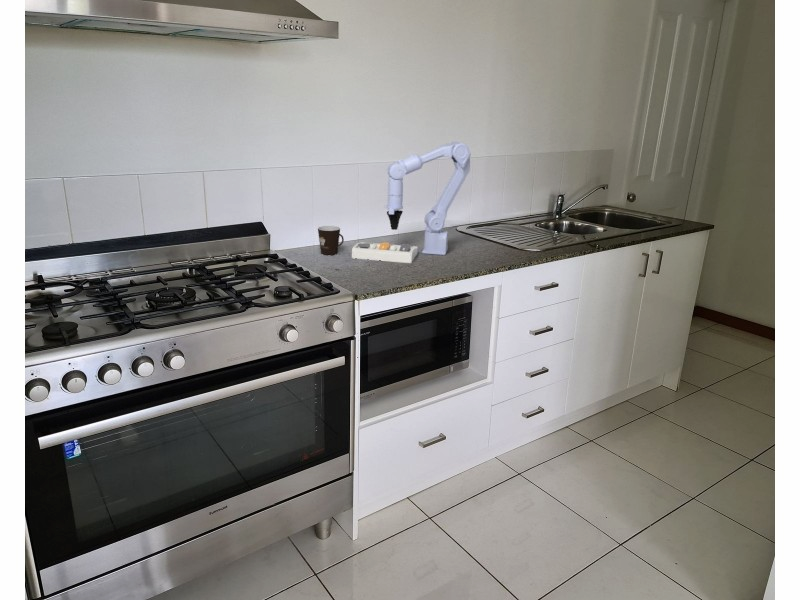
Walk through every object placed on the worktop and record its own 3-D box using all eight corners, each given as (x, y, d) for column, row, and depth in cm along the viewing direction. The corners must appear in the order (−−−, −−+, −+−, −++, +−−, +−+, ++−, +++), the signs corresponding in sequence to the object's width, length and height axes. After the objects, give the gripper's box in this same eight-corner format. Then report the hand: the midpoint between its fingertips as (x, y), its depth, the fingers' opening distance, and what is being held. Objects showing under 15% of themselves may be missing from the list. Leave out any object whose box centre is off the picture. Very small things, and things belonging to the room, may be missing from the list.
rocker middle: (389, 246, 223) (389, 242, 222) (386, 252, 217) (386, 248, 217) (381, 246, 223) (381, 242, 222) (378, 251, 218) (378, 247, 217)
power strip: (417, 253, 228) (417, 244, 227) (411, 263, 215) (411, 252, 214) (361, 249, 232) (361, 239, 231) (351, 258, 219) (351, 248, 218)
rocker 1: (369, 248, 224) (369, 243, 224) (365, 248, 218) (366, 244, 218) (361, 247, 224) (361, 243, 224) (357, 247, 219) (357, 243, 218)
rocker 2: (410, 247, 221) (410, 243, 220) (407, 254, 216) (407, 250, 215) (402, 247, 222) (402, 243, 221) (399, 254, 217) (398, 250, 216)
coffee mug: (315, 251, 227) (315, 226, 223) (336, 249, 230) (336, 225, 227) (323, 259, 217) (323, 233, 213) (345, 257, 220) (345, 231, 217)
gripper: (388, 191, 229) (388, 224, 234) (381, 197, 216) (380, 232, 220) (406, 192, 228) (405, 226, 232) (399, 198, 214) (398, 233, 219)
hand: (394, 229), depth 226 cm, fingers closed
